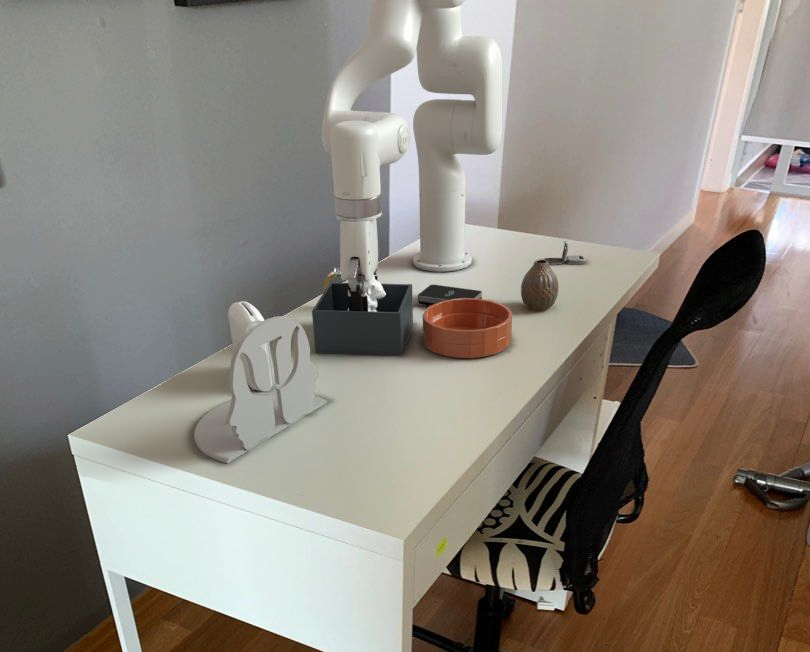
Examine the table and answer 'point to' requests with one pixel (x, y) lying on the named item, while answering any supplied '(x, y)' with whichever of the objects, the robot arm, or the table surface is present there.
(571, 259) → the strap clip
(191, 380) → the table surface
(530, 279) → the vase
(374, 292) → the koala figurine
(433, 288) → the external hard drive
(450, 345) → the bowl
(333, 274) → the ring
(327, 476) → the table surface
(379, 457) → the table surface
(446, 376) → the table surface
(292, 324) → the ornament
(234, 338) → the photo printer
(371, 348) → the bin
